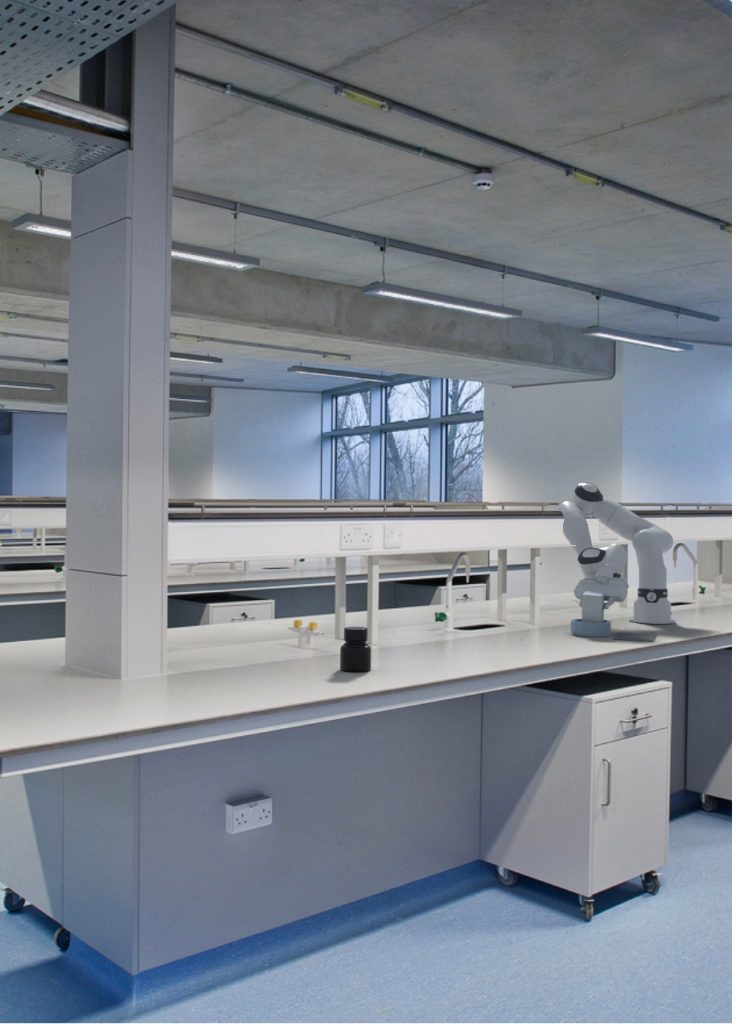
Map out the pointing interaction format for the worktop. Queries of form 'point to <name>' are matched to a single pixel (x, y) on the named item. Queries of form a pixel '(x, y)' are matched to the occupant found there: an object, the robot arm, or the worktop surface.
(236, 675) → the worktop surface
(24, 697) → the worktop surface
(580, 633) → the bowl
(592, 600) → the supplement box
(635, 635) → the mat
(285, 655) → the worktop surface
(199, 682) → the worktop surface
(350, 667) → the ink bottle
